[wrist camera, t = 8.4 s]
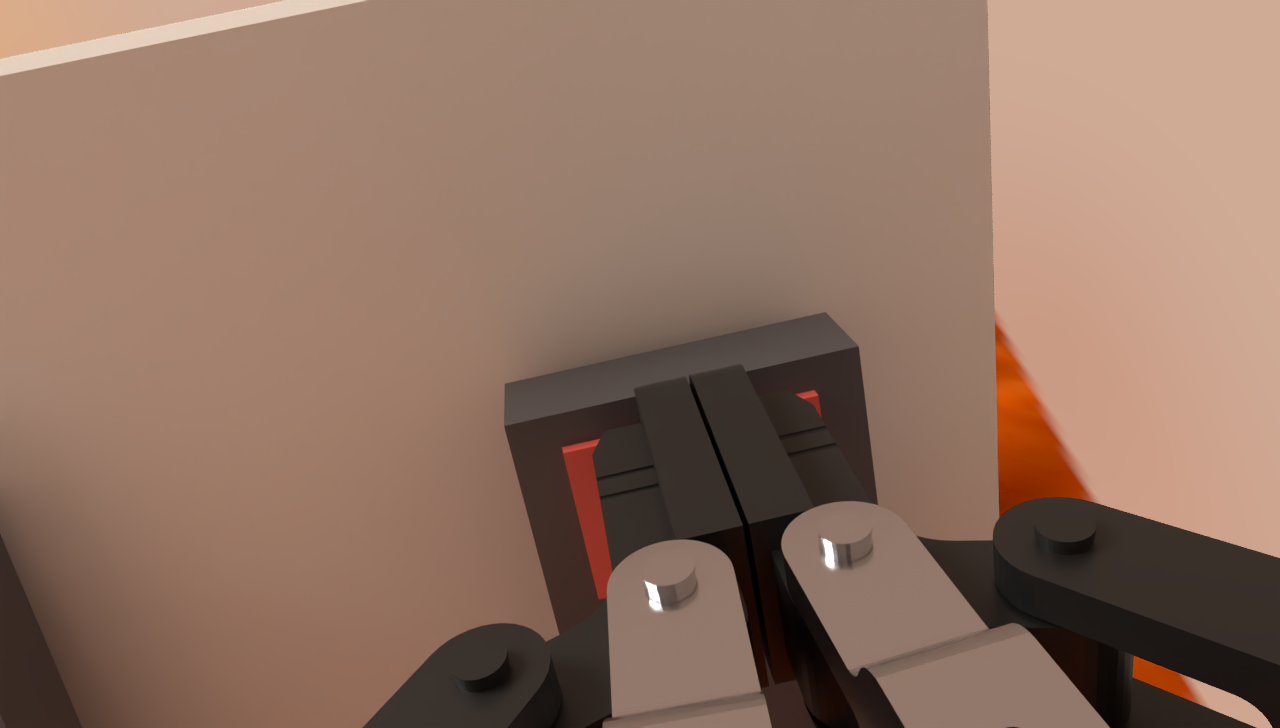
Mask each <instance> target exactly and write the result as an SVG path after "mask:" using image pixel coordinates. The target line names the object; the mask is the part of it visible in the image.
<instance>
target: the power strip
mask: <svg viewBox="0 0 1280 728" xmlns="http://www.w3.org/2000/svg"><path fill="white" fill-rule="evenodd" d="M987 12H988V11H987V0H285V1H280V2H275V3H270V4H265V5H261V6H256V7H251V8H246V9H241V10H236V11H231V12H227V13H222V14H216V15H212V16H207V17H202V18H198V19H192V20H188V21H182V22H177V23H173V24H168V25H163V26H158V27H153V28H148V29H143V30H138V31H134V32H129V33H124V34H119V35H114V36H109V37H105V38H100V39H95V40H90V41H85V42H80V43H76V44H70V45H65V46H61V47H56V48H51V49H46V50H42V51H37V52H31V53H26V54H22V55H17V56H12V57H7V58H2V59H0V535H1V537H2V539H3V542H4V544H5V546H6V549H7V551H8V554H9V556H10V558H11V561H12V563H13V565H14V568H15V570H16V572H17V575H18V577H19V579H20V582H21V584H22V587H23V589H24V591H25V594H26V596H27V598H28V601H29V603H30V605H31V608H32V610H33V613H34V615H35V617H36V620H37V622H38V624H39V627H40V629H41V631H42V634H43V636H44V638H45V641H46V643H47V646H48V648H49V650H50V653H51V655H52V657H53V660H54V662H55V664H56V667H57V669H58V672H59V674H60V676H61V679H62V681H63V683H64V686H65V688H66V690H67V693H68V695H69V697H70V700H71V702H72V705H73V707H74V709H75V712H76V714H77V716H78V719H79V721H80V723H81V726H82V728H363V726H364V725H365V724H366V723H367V722H368V721H369V720H370V719H371V718H372V717H373V716H374V715H375V714H376V713H377V712H378V711H379V709H380V708H381V707H382V706H383V705H384V704H385V703H386V702H387V701H388V700H389V699H390V698H391V697H392V696H393V695H394V694H395V693H396V691H397V690H398V689H399V688H400V687H401V686H402V685H403V684H404V683H405V682H406V681H407V680H408V679H409V678H410V677H411V676H412V674H413V673H414V672H415V671H416V670H417V669H418V668H419V667H420V666H421V665H422V664H423V663H424V662H425V661H426V660H427V659H428V658H429V656H430V655H431V654H432V653H434V652H435V651H436V650H437V649H438V648H439V647H440V646H441V645H443V644H444V643H446V642H447V641H448V640H450V639H452V638H453V637H455V636H457V635H459V634H461V633H463V632H465V631H468V630H470V629H473V628H476V627H479V626H484V625H489V624H497V623H511V624H518V625H522V626H525V627H528V628H530V629H532V630H534V631H535V632H537V633H539V634H540V635H541V637H542V638H543V639H544V640H545V642H546V641H548V640H550V639H552V638H554V637H556V636H558V635H559V631H558V628H557V624H556V620H555V616H554V612H553V609H552V605H551V601H550V597H549V594H548V590H547V586H546V582H545V579H544V575H543V571H542V567H541V563H540V560H539V556H538V552H537V548H536V545H535V541H534V537H533V533H532V530H531V526H530V522H529V518H528V515H527V511H526V507H525V503H524V499H523V496H522V492H521V488H520V484H519V481H518V477H517V473H516V469H515V466H514V462H513V458H512V454H511V451H510V447H509V443H508V439H507V435H506V432H505V428H504V398H505V384H506V383H510V382H515V381H519V380H523V379H528V378H532V377H537V376H541V375H546V374H550V373H555V372H559V371H564V370H568V369H573V368H577V367H582V366H586V365H591V364H595V363H600V362H604V361H609V360H613V359H617V358H622V357H626V356H631V355H635V354H640V353H644V352H649V351H653V350H658V349H662V348H667V347H671V346H676V345H680V344H685V343H689V342H694V341H698V340H702V339H707V338H711V337H716V336H720V335H725V334H729V333H734V332H738V331H743V330H747V329H752V328H756V327H761V326H765V325H770V324H774V323H779V322H783V321H788V320H792V319H796V318H801V317H805V316H810V315H814V314H819V313H823V312H826V313H827V314H828V315H829V316H830V317H831V318H832V319H833V320H834V321H835V322H836V323H837V324H838V325H839V326H840V327H841V328H842V329H843V330H844V331H845V332H846V334H847V335H848V336H849V337H850V338H851V339H852V340H853V341H854V342H855V343H856V344H857V345H858V346H859V352H860V360H861V368H862V377H863V385H864V393H865V401H866V410H867V418H868V426H869V434H870V443H871V451H872V459H873V467H874V476H875V484H876V492H877V500H878V506H881V507H884V508H886V509H888V510H890V511H893V512H894V513H895V514H897V515H898V516H900V517H901V518H902V519H903V520H904V521H905V522H906V524H907V525H908V526H909V527H910V529H911V530H912V531H913V533H914V534H915V535H916V536H920V537H924V538H928V539H936V540H950V541H971V540H993V529H994V527H995V524H996V522H997V521H998V519H999V486H998V443H997V400H996V357H995V313H994V272H993V271H994V270H993V232H992V231H993V229H992V185H991V143H990V142H991V140H990V99H989V56H988V55H989V54H988V13H987Z"/></svg>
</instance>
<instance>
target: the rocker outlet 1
mask: <svg viewBox="0 0 1280 728" xmlns="http://www.w3.org/2000/svg"><path fill="white" fill-rule="evenodd" d="M0 728H82V726H81V723H80V721H79V719H78V716H77V714H76V712H75V709H74V707H73V705H72V702H71V700H70V697H69V695H68V693H67V690H66V688H65V686H64V683H63V681H62V679H61V676H60V674H59V672H58V669H57V667H56V664H55V662H54V660H53V657H52V655H51V653H50V650H49V648H48V646H47V643H46V641H45V638H44V636H43V634H42V631H41V629H40V627H39V624H38V622H37V620H36V617H35V615H34V613H33V610H32V608H31V605H30V603H29V601H28V598H27V596H26V594H25V591H24V589H23V587H22V584H21V582H20V579H19V577H18V575H17V572H16V570H15V568H14V565H13V563H12V561H11V558H10V556H9V554H8V551H7V549H6V546H5V544H4V542H3V539H2V537H1V535H0Z"/></svg>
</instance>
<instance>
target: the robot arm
mask: <svg viewBox="0 0 1280 728" xmlns="http://www.w3.org/2000/svg"><path fill="white" fill-rule="evenodd" d="M689 384H690V386H689ZM689 384H688V381H687V379H686V377H685V376H684V377H680V378H675V379H671V380H666V381H662V382H657V383H653V384H648V385H644V386H639V387H635V388H634V393H635V398H636V403H637V408H638V413H639V418H640V422H641V423H638V424H634V425H629V426H625V427H620V428H616V429H611V430H607V431H604V432H603V434H602V436H601V438H600V440H599V442H598V444H597V446H596V448H595V450H594V452H593V454H592V457H593V463H594V469H595V474H596V480H597V486H598V492H599V497H600V503H601V509H602V515H603V520H604V526H605V532H606V538H607V543H608V549H609V555H610V561H611V566H612V574H611V576H610V578H609V581H608V584H607V597H606V598H605V600H604V602H603V603H602V604H601V605H600V607H599V608H598V609H597V610H596V611H595V612H594V613H593V614H592V615H591V616H590V617H588V618H587V619H586V620H584V621H583V622H582V623H580V624H579V625H577V626H575V627H574V628H572V629H570V630H568V631H566V632H564V633H562V634H560V635H558V636H556V637H554V638H552V639H550V640H548V641H546V642H545V640H544V639H543V638H542V637H541V635H540V634H539V633H537V632H535V631H534V630H532V629H530V628H528V627H525V626H522V625H518V624H511V623H497V624H489V625H484V626H479V627H476V628H473V629H470V630H468V631H465V632H463V633H461V634H459V635H457V636H455V637H453V638H452V639H450V640H448V641H447V642H446V643H444V644H443V645H441V646H440V647H439V648H438V649H437V650H436V651H435V652H434V653H432V654H431V655H430V656H429V658H428V659H427V660H426V661H425V662H424V663H423V664H422V665H421V666H420V667H419V668H418V669H417V670H416V671H415V672H414V673H413V674H412V676H411V677H410V678H409V679H408V680H407V681H406V682H405V683H404V684H403V685H402V686H401V687H400V688H399V689H398V690H397V691H396V693H395V694H394V695H393V696H392V697H391V698H390V699H389V700H388V701H387V702H386V703H385V704H384V705H383V706H382V707H381V708H380V709H379V711H378V712H377V713H376V714H375V715H374V716H373V717H372V718H371V719H370V720H369V721H368V722H367V723H366V724H365V725H364V726H363V728H772V726H771V722H770V717H769V713H768V708H767V704H766V700H765V696H764V693H763V691H761V688H765V687H769V681H768V675H767V669H766V663H765V658H766V661H767V664H768V667H769V670H770V672H771V675H772V678H773V681H774V684H775V685H776V684H780V683H784V682H789V681H793V680H797V683H798V685H799V688H800V691H801V693H802V696H803V699H804V706H805V713H806V720H807V727H808V728H1256V727H1253V726H1251V725H1248V724H1246V723H1244V722H1241V721H1238V720H1236V719H1234V718H1231V717H1229V716H1226V715H1224V714H1221V713H1219V712H1216V711H1214V710H1211V709H1209V708H1207V707H1204V706H1202V705H1199V704H1197V703H1194V702H1192V701H1189V700H1187V699H1184V698H1182V697H1179V696H1177V695H1174V694H1172V693H1169V692H1167V691H1165V690H1162V689H1160V688H1157V687H1155V686H1152V685H1150V684H1147V683H1145V682H1142V681H1140V680H1137V679H1135V678H1132V676H1133V658H1134V656H1137V657H1139V658H1142V659H1144V660H1147V661H1150V662H1152V663H1155V664H1157V665H1160V666H1162V667H1165V668H1167V669H1170V670H1173V671H1175V672H1178V673H1180V674H1183V675H1185V676H1188V677H1191V678H1193V679H1196V680H1198V681H1201V682H1203V683H1206V684H1208V685H1211V686H1214V687H1216V688H1219V689H1222V690H1224V691H1226V692H1229V693H1231V694H1234V695H1236V696H1239V697H1241V698H1242V699H1244V700H1246V701H1248V702H1249V703H1251V704H1252V705H1253V706H1255V707H1256V708H1257V709H1258V710H1259V711H1260V712H1262V713H1263V715H1264V716H1265V717H1266V718H1267V719H1268V721H1269V722H1270V724H1271V725H1272V727H1273V728H1280V558H1277V557H1274V556H1271V555H1267V554H1264V553H1260V552H1257V551H1254V550H1251V549H1247V548H1244V547H1241V546H1237V545H1233V544H1230V543H1227V542H1224V541H1220V540H1217V539H1213V538H1210V537H1207V536H1204V535H1200V534H1197V533H1194V532H1190V531H1187V530H1184V529H1180V528H1177V527H1174V526H1170V525H1167V524H1164V523H1160V522H1157V521H1154V520H1150V519H1147V518H1144V517H1140V516H1137V515H1134V514H1130V513H1127V512H1123V511H1120V510H1117V509H1114V508H1110V507H1107V506H1104V505H1100V504H1097V503H1094V502H1090V501H1086V500H1081V499H1074V498H1063V497H1053V498H1041V499H1035V500H1031V501H1027V502H1024V503H1021V504H1019V505H1016V506H1014V507H1013V508H1011V509H1009V510H1008V511H1006V512H1005V513H1004V514H1003V515H1002V516H1001V517H1000V518H999V519H998V521H997V522H996V524H995V527H994V529H993V540H971V541H950V540H936V539H928V538H924V537H920V536H916V535H915V534H914V533H913V531H912V530H911V529H910V527H909V526H908V525H907V524H906V522H905V521H904V520H903V519H902V518H901V517H900V516H898V515H897V514H895V513H894V512H893V511H890V510H888V509H886V508H884V507H881V506H878V505H875V504H873V503H872V502H871V500H870V498H869V497H868V495H867V493H866V492H865V490H864V488H863V487H862V485H861V483H860V482H859V480H858V478H857V477H856V475H855V473H854V472H853V470H852V468H851V467H850V465H849V463H848V462H847V460H846V458H845V457H844V455H843V453H842V452H841V450H840V448H839V447H837V445H836V442H835V440H834V438H833V437H832V435H831V433H830V432H829V430H827V429H826V425H825V423H824V422H823V420H822V418H821V417H820V415H819V413H818V412H817V410H816V408H815V407H814V405H813V404H811V403H810V402H808V401H806V400H804V399H803V398H801V397H799V396H797V395H796V394H794V393H792V392H790V391H789V390H783V391H779V392H775V393H770V394H766V395H761V396H758V395H757V393H756V391H755V389H754V387H753V385H752V383H751V381H750V379H749V377H748V375H747V373H746V371H745V369H744V367H743V366H742V364H737V365H732V366H728V367H723V368H719V369H714V370H710V371H705V372H701V373H697V374H692V375H689ZM764 655H765V657H764Z"/></svg>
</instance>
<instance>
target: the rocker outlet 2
mask: <svg viewBox="0 0 1280 728" xmlns="http://www.w3.org/2000/svg"><path fill="white" fill-rule="evenodd" d="M737 364H742V366H743V367H744V369H745V371H746V373H747V375H748V377H749V379H750V381H751V383H752V385H753V387H754V389H755V391H756V393H757V395H758V396H761V395H766V394H770V393H775V392H779V391H783V390H789V391H790V392H792V393H794V394H796V395H797V396H799V397H801V398H803V399H804V400H806V401H808V402H810V403H811V404H813V405H814V407H815V408H816V410H817V412H818V413H819V415H820V417H821V418H822V420H823V422H824V423H825V425H826V429H827V430H829V432H830V433H831V435H832V437H833V438H834V440H835V442H836V445H837V447H839V448H840V450H841V452H842V453H843V455H844V457H845V458H846V460H847V462H848V463H849V465H850V467H851V468H852V470H853V472H854V473H855V475H856V477H857V478H858V480H859V482H860V483H861V485H862V487H863V488H864V490H865V492H866V493H867V495H868V497H869V498H870V500H871V502H872V503H873V504H875V505H878V500H877V492H876V484H875V476H874V467H873V459H872V451H871V443H870V434H869V426H868V418H867V410H866V401H865V393H864V385H863V377H862V368H861V360H860V352H859V346H858V345H857V344H856V343H855V342H854V341H853V340H852V339H851V338H850V337H849V336H848V335H847V334H846V332H845V331H844V330H843V329H842V328H841V327H840V326H839V325H838V324H837V323H836V322H835V321H834V320H833V319H832V318H831V317H830V316H829V315H828V314H827V313H826V312H823V313H819V314H814V315H810V316H805V317H801V318H796V319H792V320H788V321H783V322H779V323H774V324H770V325H765V326H761V327H756V328H752V329H747V330H743V331H738V332H734V333H729V334H725V335H720V336H716V337H711V338H707V339H702V340H698V341H694V342H689V343H685V344H680V345H676V346H671V347H667V348H662V349H658V350H653V351H649V352H644V353H640V354H635V355H631V356H626V357H622V358H617V359H613V360H609V361H604V362H600V363H595V364H591V365H586V366H582V367H577V368H573V369H568V370H564V371H559V372H555V373H550V374H546V375H541V376H537V377H532V378H528V379H523V380H519V381H515V382H510V383H506V384H505V398H504V428H505V432H506V435H507V439H508V443H509V447H510V451H511V454H512V458H513V462H514V466H515V469H516V473H517V477H518V481H519V484H520V488H521V492H522V496H523V499H524V503H525V507H526V511H527V515H528V518H529V522H530V526H531V530H532V533H533V537H534V541H535V545H536V548H537V552H538V556H539V560H540V563H541V567H542V571H543V575H544V579H545V582H546V586H547V590H548V594H549V597H550V601H551V605H552V609H553V612H554V616H555V620H556V624H557V628H558V631H559V635H560V634H562V633H564V632H566V631H568V630H570V629H572V628H574V627H575V626H577V625H579V624H580V623H582V622H583V621H584V620H586V619H587V618H588V617H590V616H591V615H592V614H593V613H594V612H595V611H596V610H597V609H598V608H599V607H600V605H601V604H602V603H603V602H604V600H605V598H606V597H607V584H608V581H609V578H610V576H611V574H612V566H611V561H610V555H609V549H608V543H607V538H606V532H605V526H604V520H603V515H602V509H601V503H600V497H599V492H598V486H597V480H596V474H595V469H594V463H593V457H592V454H593V452H594V450H595V448H596V446H597V444H598V442H599V440H600V438H601V436H602V434H603V432H604V431H607V430H611V429H616V428H620V427H625V426H629V425H634V424H638V423H641V422H640V418H639V413H638V408H637V403H636V398H635V393H634V388H635V387H639V386H644V385H648V384H653V383H657V382H662V381H666V380H671V379H675V378H680V377H684V376H685V377H686V379H687V381H688V384H689V375H692V374H697V373H701V372H705V371H710V370H714V369H719V368H723V367H728V366H732V365H737ZM689 386H690V384H689ZM764 657H765V655H764ZM765 663H766V669H767V675H768V681H769V687H765V688H761V691H763V693H764V696H765V700H766V704H767V708H768V713H769V717H770V722H771V726H772V728H808V727H807V720H806V713H805V706H804V699H803V696H802V693H801V691H800V688H799V685H798V683H797V680H793V681H789V682H784V683H780V684H776V685H775V684H774V681H773V678H772V675H771V672H770V670H769V667H768V664H767V661H766V658H765Z"/></svg>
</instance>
